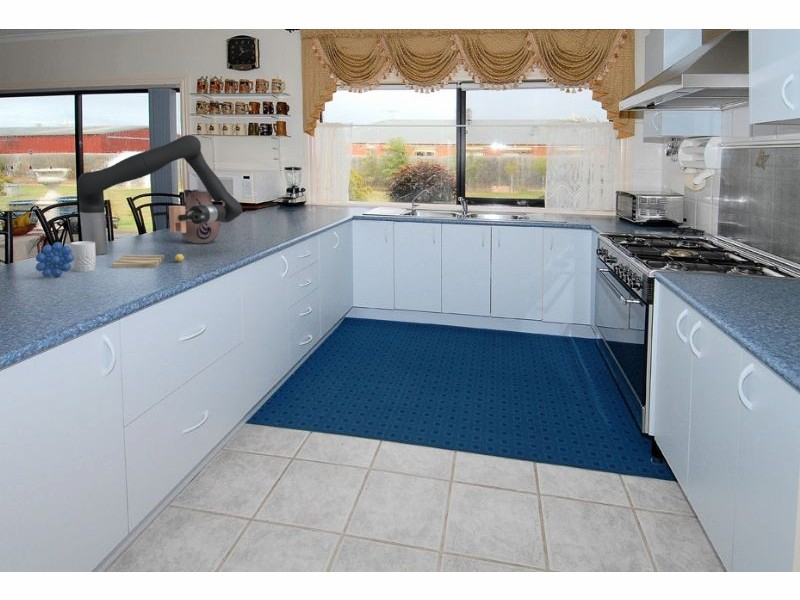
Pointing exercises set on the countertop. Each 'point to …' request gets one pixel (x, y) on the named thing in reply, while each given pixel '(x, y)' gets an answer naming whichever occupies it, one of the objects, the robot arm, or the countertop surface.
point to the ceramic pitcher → (200, 231)
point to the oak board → (138, 261)
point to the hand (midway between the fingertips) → (172, 217)
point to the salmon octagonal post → (177, 219)
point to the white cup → (84, 256)
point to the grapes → (54, 260)
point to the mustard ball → (179, 257)
